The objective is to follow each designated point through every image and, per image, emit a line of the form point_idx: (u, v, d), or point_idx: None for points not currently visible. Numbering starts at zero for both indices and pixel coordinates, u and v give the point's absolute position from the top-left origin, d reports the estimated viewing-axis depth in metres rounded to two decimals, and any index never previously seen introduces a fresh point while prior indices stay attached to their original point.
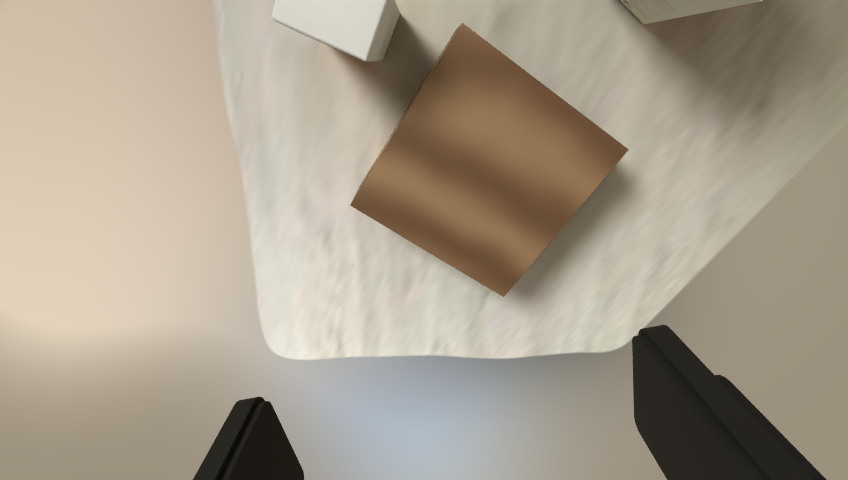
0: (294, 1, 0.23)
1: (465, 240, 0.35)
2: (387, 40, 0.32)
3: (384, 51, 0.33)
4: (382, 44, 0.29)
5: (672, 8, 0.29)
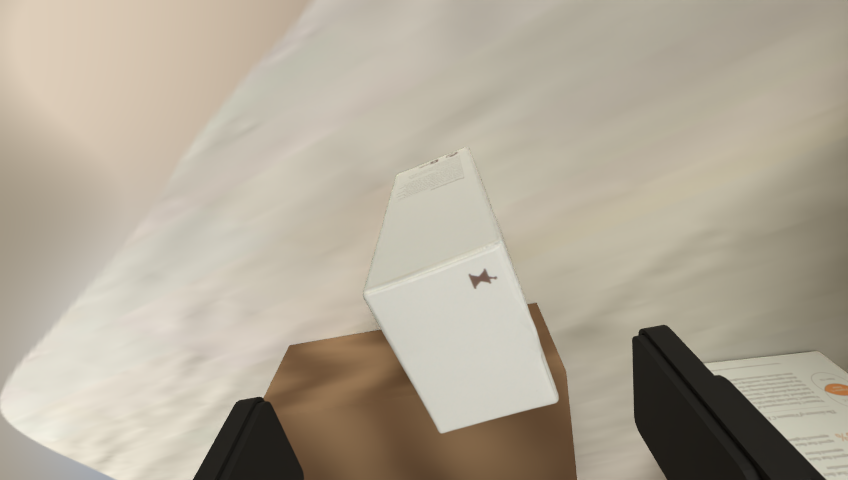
0: (421, 308, 0.11)
1: None
2: None
3: None
4: None
5: None
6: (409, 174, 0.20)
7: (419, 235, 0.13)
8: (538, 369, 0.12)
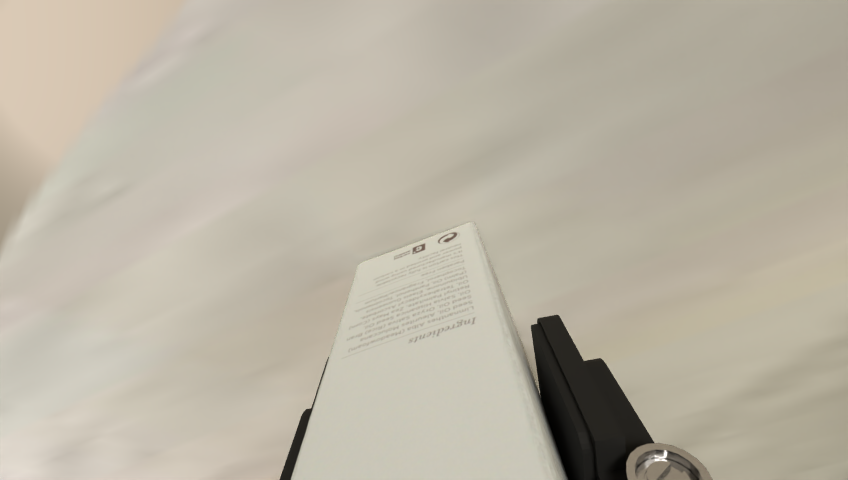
0: None
1: None
2: None
3: None
4: None
5: None
6: (377, 271, 0.12)
7: None
8: None
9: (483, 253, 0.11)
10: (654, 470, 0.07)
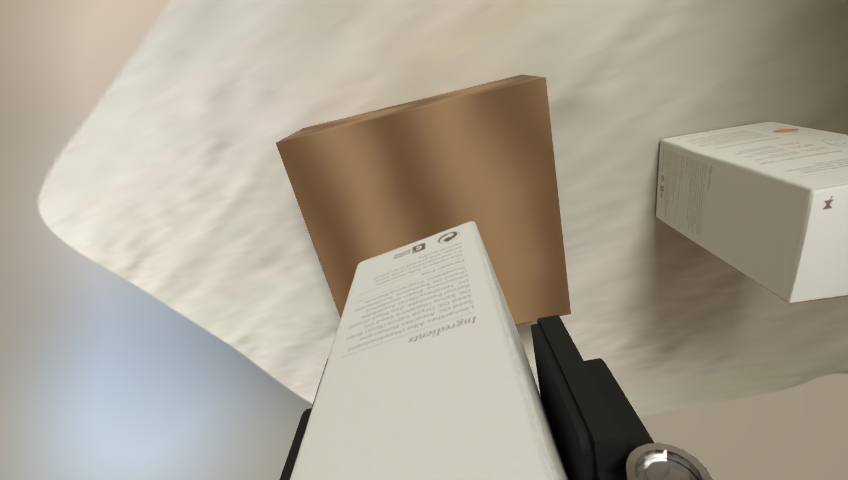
0: None
1: None
2: None
3: None
4: None
5: (698, 231, 0.27)
6: (377, 270, 0.12)
7: None
8: None
9: (483, 252, 0.11)
10: (654, 470, 0.07)
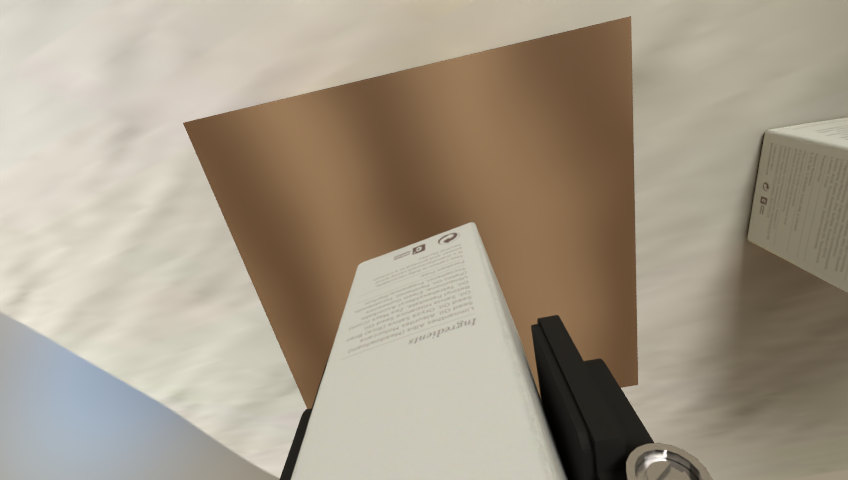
0: None
1: (334, 329, 0.18)
2: None
3: None
4: None
5: (840, 268, 0.18)
6: (377, 272, 0.12)
7: None
8: None
9: (483, 254, 0.11)
10: (654, 470, 0.07)
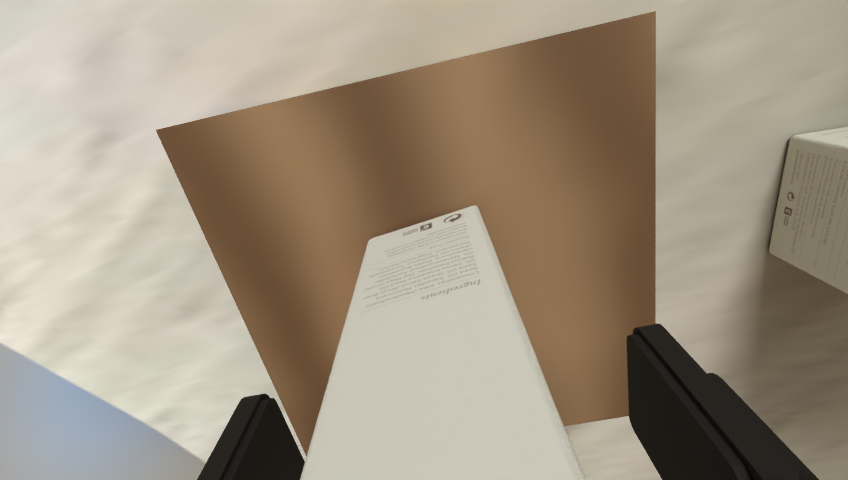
0: None
1: (326, 354, 0.17)
2: None
3: None
4: None
5: None
6: (387, 245, 0.13)
7: (398, 460, 0.06)
8: None
9: (486, 230, 0.12)
10: None
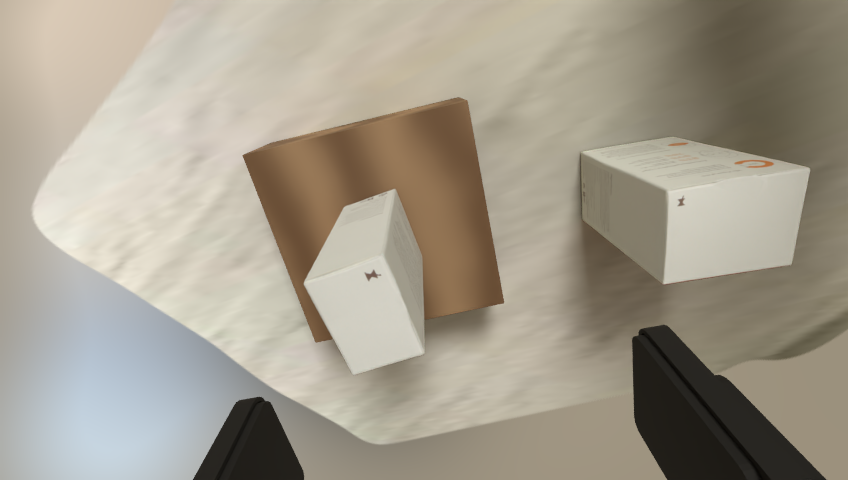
0: (338, 292, 0.19)
1: None
2: None
3: None
4: None
5: (608, 229, 0.32)
6: (352, 207, 0.29)
7: (343, 249, 0.21)
8: (409, 331, 0.20)
9: (393, 197, 0.27)
10: None
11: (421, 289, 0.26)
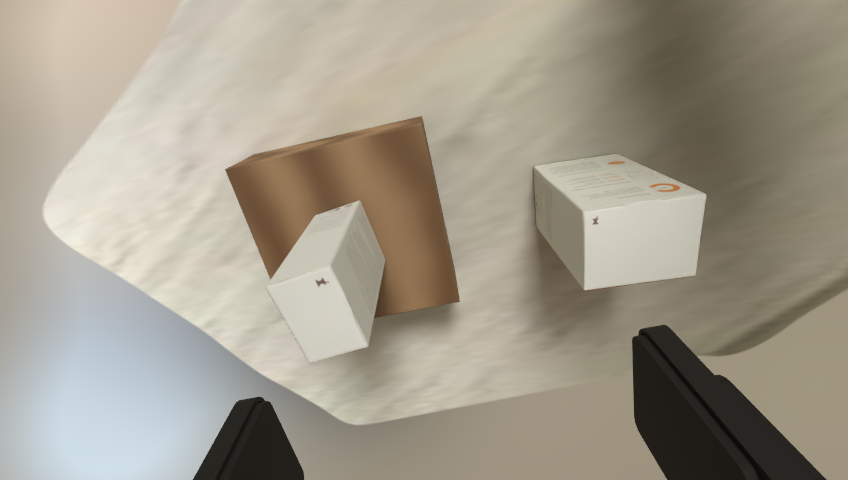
0: (294, 295, 0.23)
1: None
2: None
3: None
4: None
5: (551, 238, 0.36)
6: (320, 216, 0.33)
7: (302, 258, 0.25)
8: (354, 328, 0.24)
9: (355, 210, 0.31)
10: None
11: (376, 290, 0.30)
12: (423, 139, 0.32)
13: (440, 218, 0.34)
